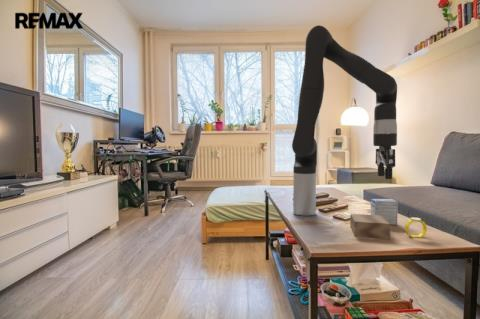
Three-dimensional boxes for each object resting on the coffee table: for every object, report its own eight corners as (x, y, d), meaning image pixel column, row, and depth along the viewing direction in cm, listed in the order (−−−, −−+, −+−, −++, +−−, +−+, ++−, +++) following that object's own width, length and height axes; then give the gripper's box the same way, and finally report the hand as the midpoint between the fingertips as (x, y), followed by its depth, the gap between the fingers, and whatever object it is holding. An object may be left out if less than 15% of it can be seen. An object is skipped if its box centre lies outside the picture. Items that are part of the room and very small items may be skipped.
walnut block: (354, 237, 86) (354, 221, 86) (350, 227, 96) (350, 213, 95) (389, 239, 83) (389, 223, 83) (381, 229, 93) (381, 215, 93)
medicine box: (392, 221, 101) (392, 198, 101) (397, 225, 97) (398, 201, 96) (370, 221, 102) (370, 198, 102) (374, 225, 98) (375, 201, 97)
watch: (408, 239, 84) (408, 220, 83) (403, 236, 86) (402, 217, 86) (428, 237, 83) (427, 218, 83) (422, 234, 86) (422, 216, 86)
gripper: (368, 133, 106) (368, 175, 106) (379, 132, 92) (379, 180, 92) (389, 133, 104) (389, 175, 105) (404, 131, 90) (403, 180, 91)
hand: (384, 177), depth 99 cm, fingers open, 8 cm apart
